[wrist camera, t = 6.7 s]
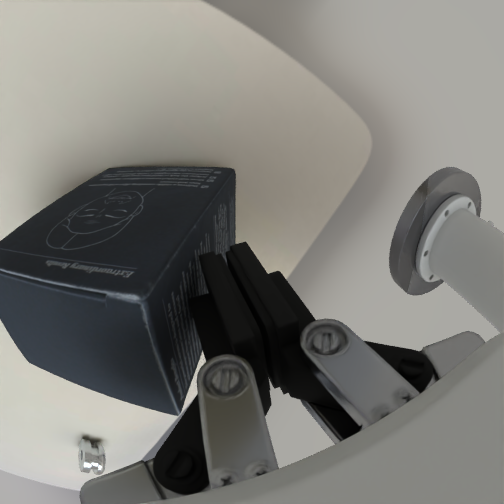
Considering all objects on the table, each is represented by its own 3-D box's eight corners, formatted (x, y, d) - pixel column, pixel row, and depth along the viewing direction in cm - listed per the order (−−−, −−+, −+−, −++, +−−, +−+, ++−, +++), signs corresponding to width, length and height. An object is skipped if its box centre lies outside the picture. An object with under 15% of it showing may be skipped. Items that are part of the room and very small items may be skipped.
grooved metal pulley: (84, 433, 28) (86, 466, 24) (105, 438, 30) (108, 470, 25) (77, 445, 29) (79, 475, 25) (96, 449, 31) (99, 479, 27)
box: (124, 248, 19) (26, 364, 10) (110, 165, 16) (-31, 258, 7) (238, 260, 18) (181, 423, 9) (239, 166, 15) (139, 300, 6)
